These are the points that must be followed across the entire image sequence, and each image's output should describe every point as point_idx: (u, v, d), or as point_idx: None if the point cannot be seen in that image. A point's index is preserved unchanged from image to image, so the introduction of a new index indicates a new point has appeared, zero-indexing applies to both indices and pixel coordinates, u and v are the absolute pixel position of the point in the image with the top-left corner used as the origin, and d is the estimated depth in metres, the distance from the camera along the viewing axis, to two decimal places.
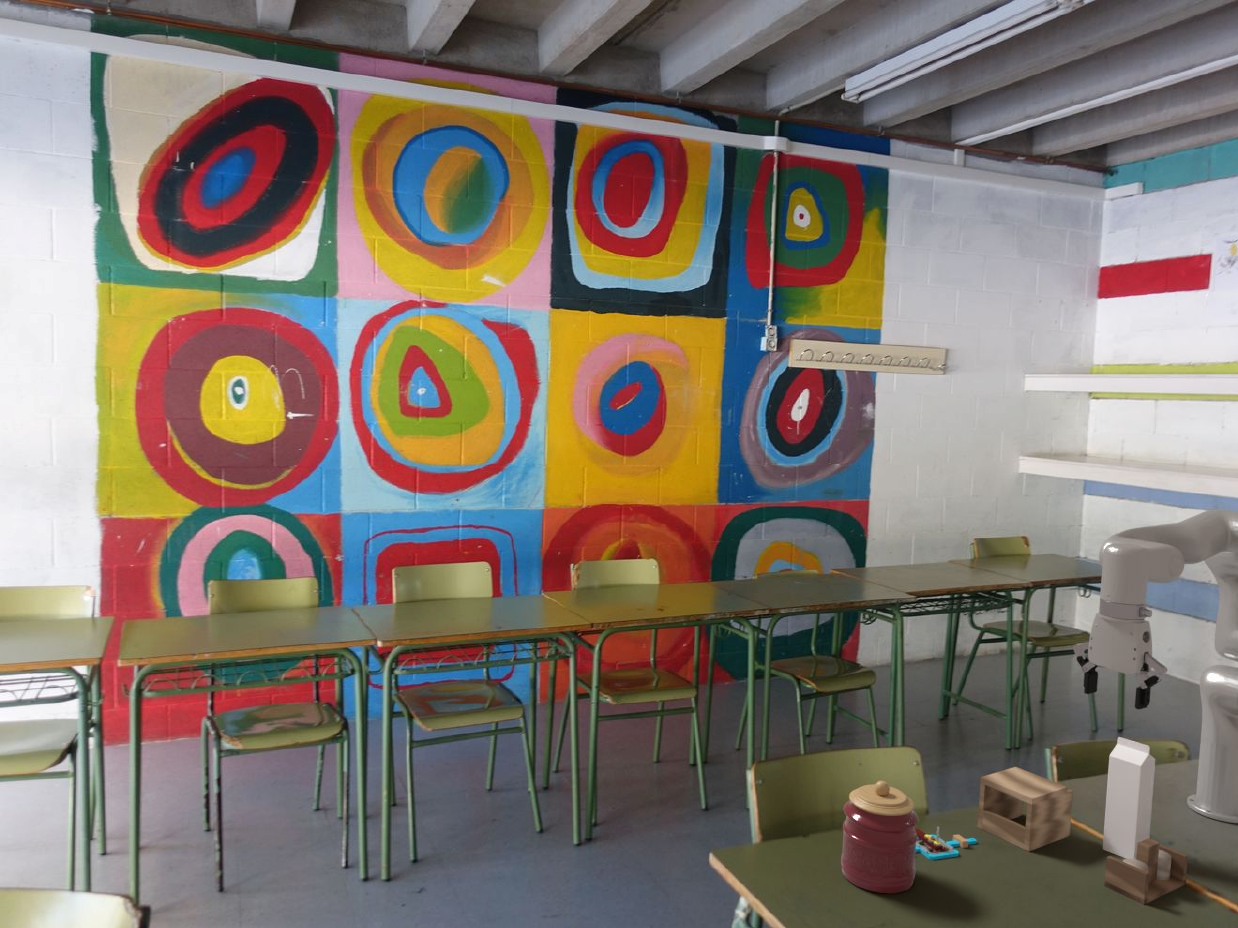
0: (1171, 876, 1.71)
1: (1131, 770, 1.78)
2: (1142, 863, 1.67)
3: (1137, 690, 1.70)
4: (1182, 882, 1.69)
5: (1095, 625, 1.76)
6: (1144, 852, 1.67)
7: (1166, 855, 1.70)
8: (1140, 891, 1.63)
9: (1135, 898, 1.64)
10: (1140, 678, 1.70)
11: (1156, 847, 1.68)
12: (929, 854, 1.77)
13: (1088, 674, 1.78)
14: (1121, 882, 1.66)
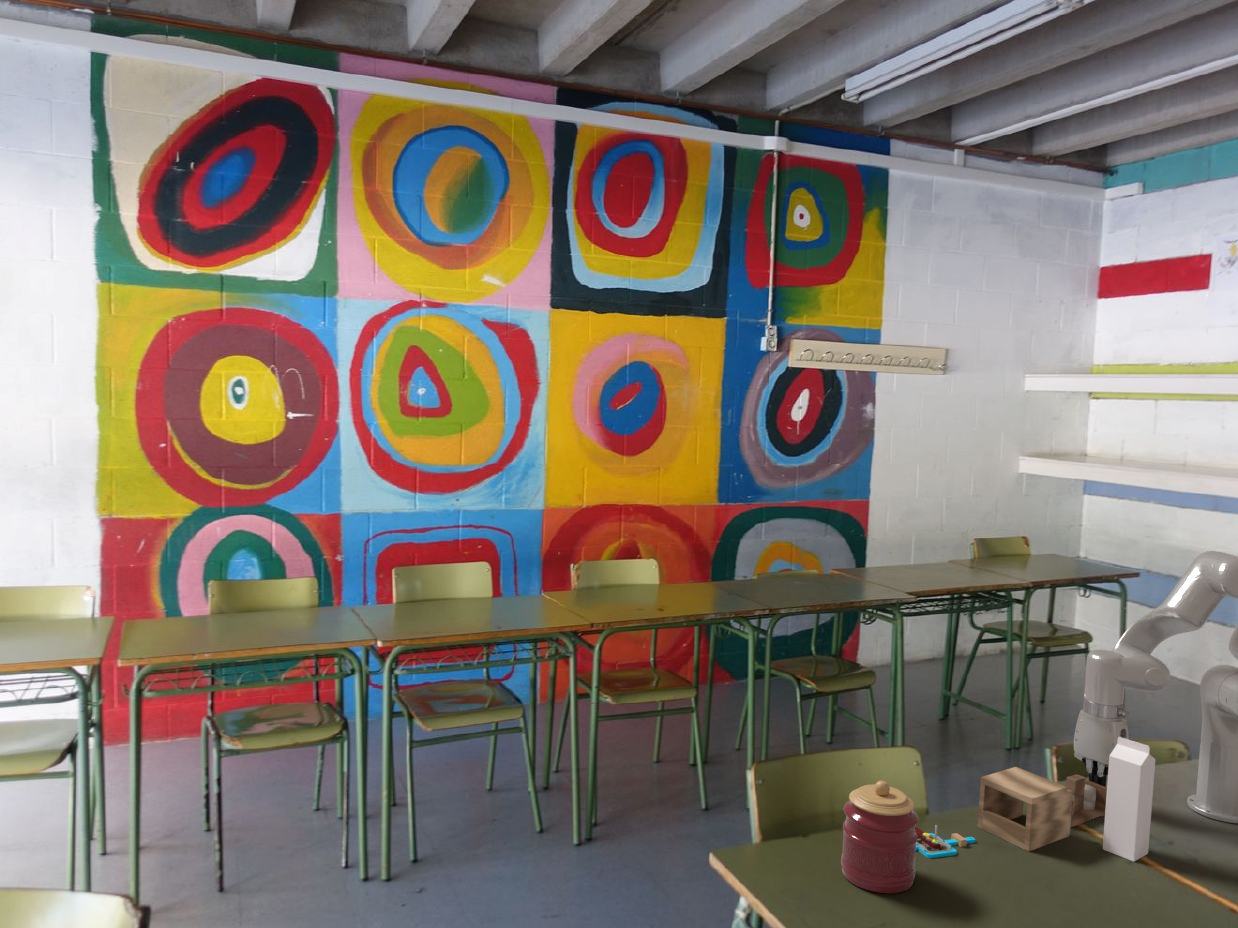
0: (1096, 807, 2.00)
1: (1131, 770, 1.78)
2: None
3: (1095, 778, 2.01)
4: None
5: (1080, 720, 2.03)
6: (1072, 785, 1.96)
7: (1092, 788, 1.99)
8: None
9: None
10: (1102, 769, 2.00)
11: (1082, 781, 1.97)
12: (927, 852, 1.77)
13: (1092, 775, 2.02)
14: None
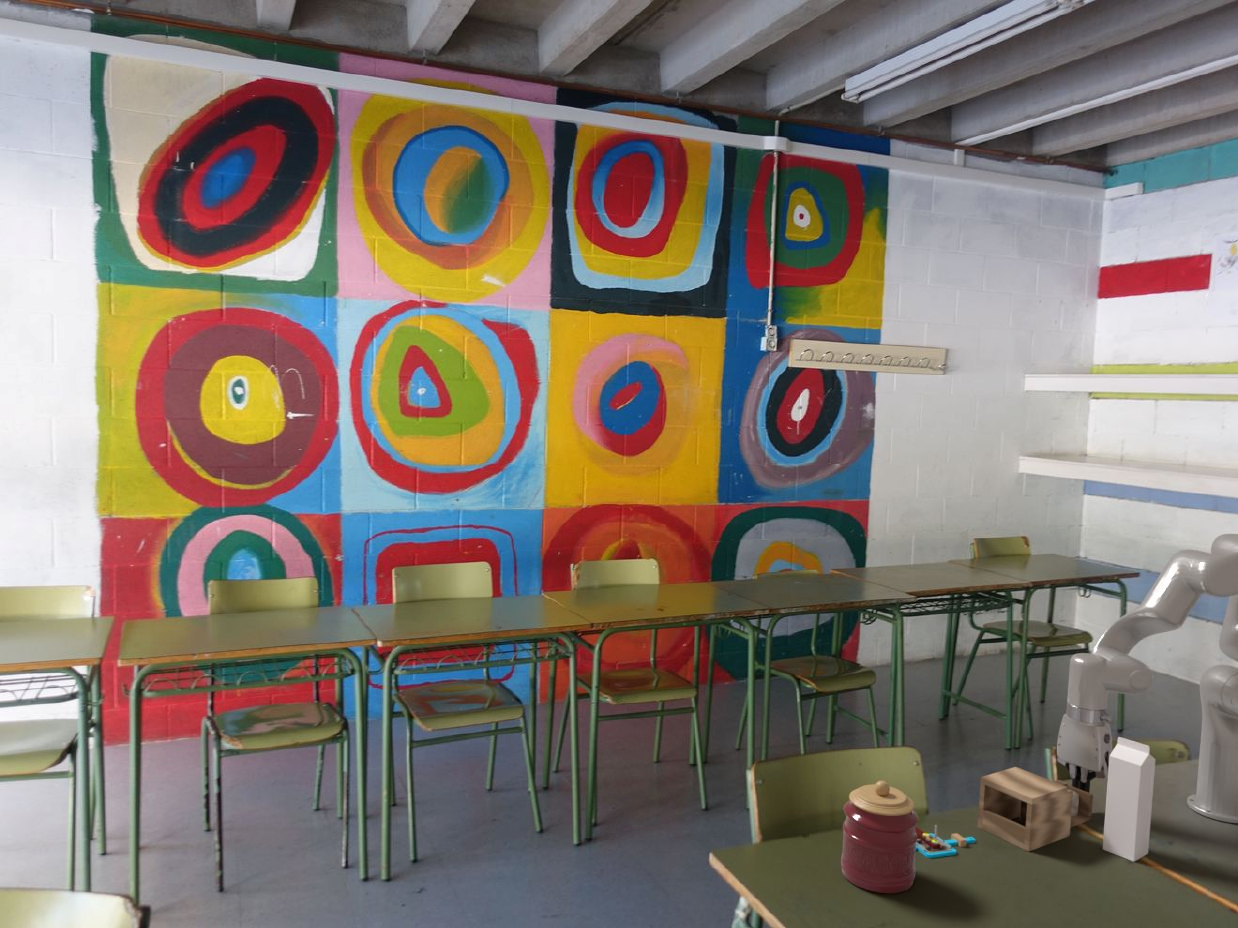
0: (1079, 813, 1.96)
1: (1131, 770, 1.78)
2: None
3: (1078, 783, 1.98)
4: (1088, 817, 1.95)
5: (1063, 725, 2.00)
6: None
7: (1075, 794, 1.96)
8: None
9: None
10: (1085, 774, 1.97)
11: None
12: (927, 852, 1.77)
13: (1076, 780, 1.98)
14: None
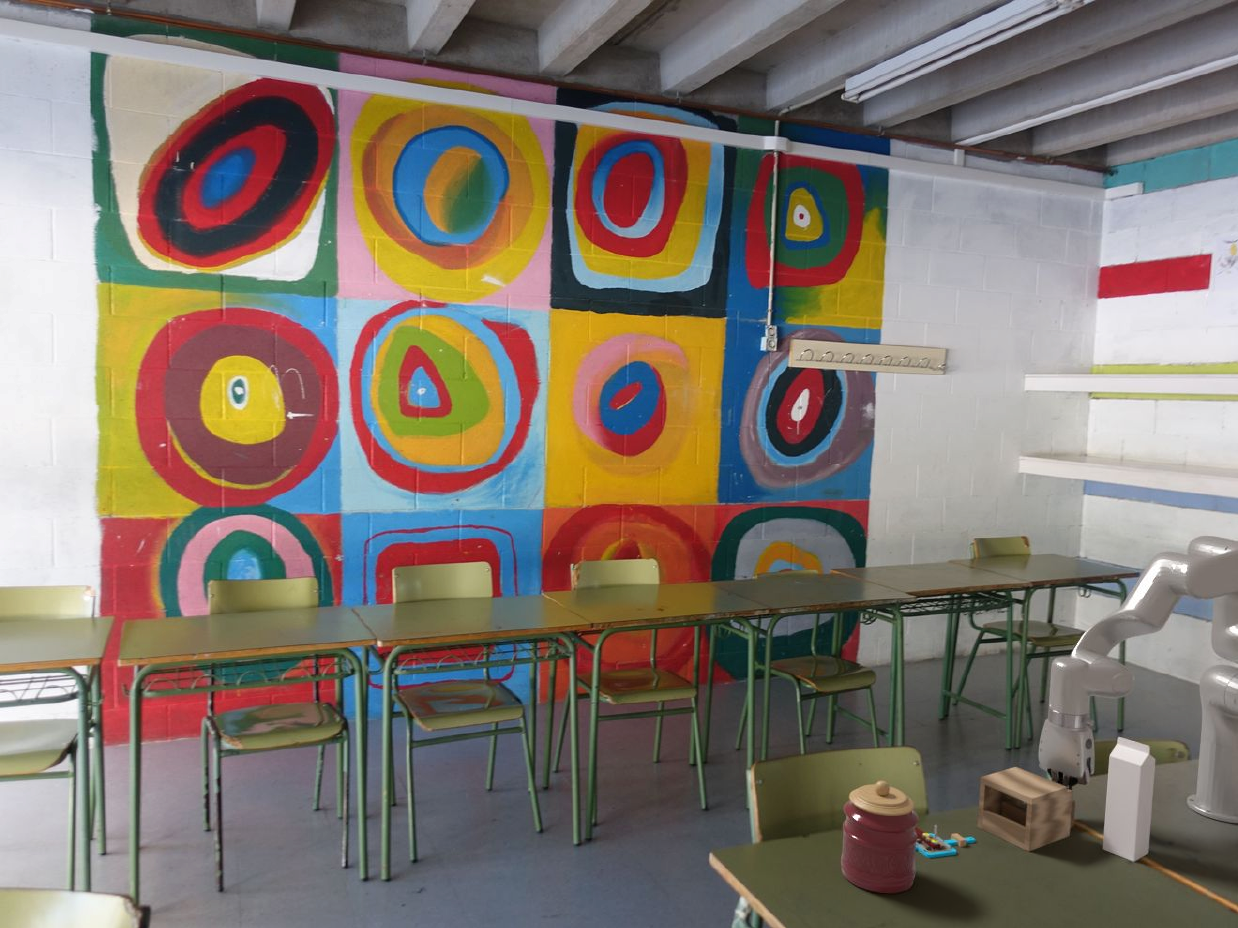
0: None
1: (1131, 770, 1.78)
2: None
3: None
4: None
5: (1044, 730, 1.96)
6: None
7: None
8: None
9: None
10: (1067, 781, 1.93)
11: None
12: (926, 852, 1.77)
13: None
14: None
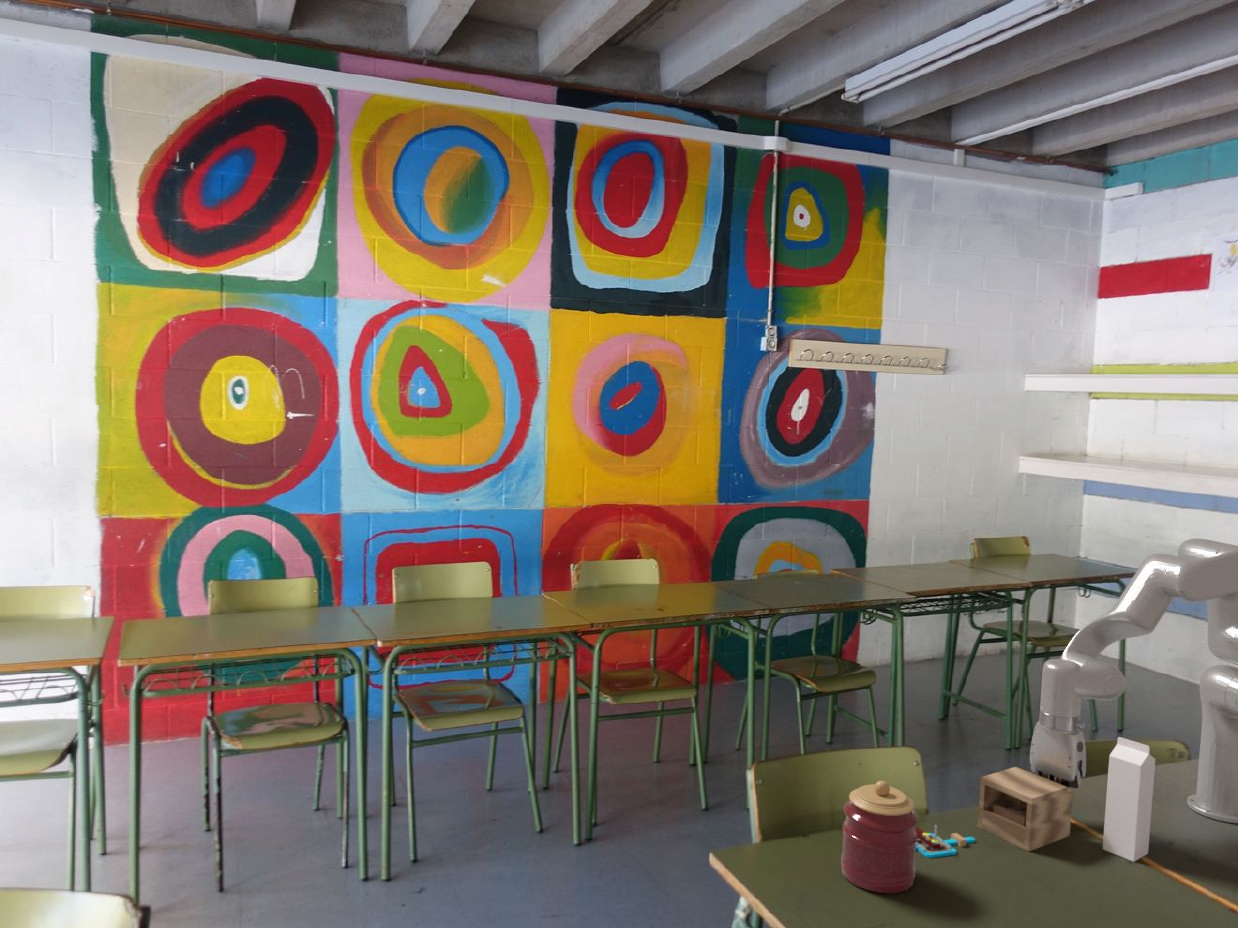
0: None
1: (1131, 770, 1.78)
2: (1024, 810, 1.87)
3: None
4: None
5: (1036, 733, 1.95)
6: None
7: None
8: None
9: None
10: None
11: None
12: (926, 852, 1.77)
13: None
14: None
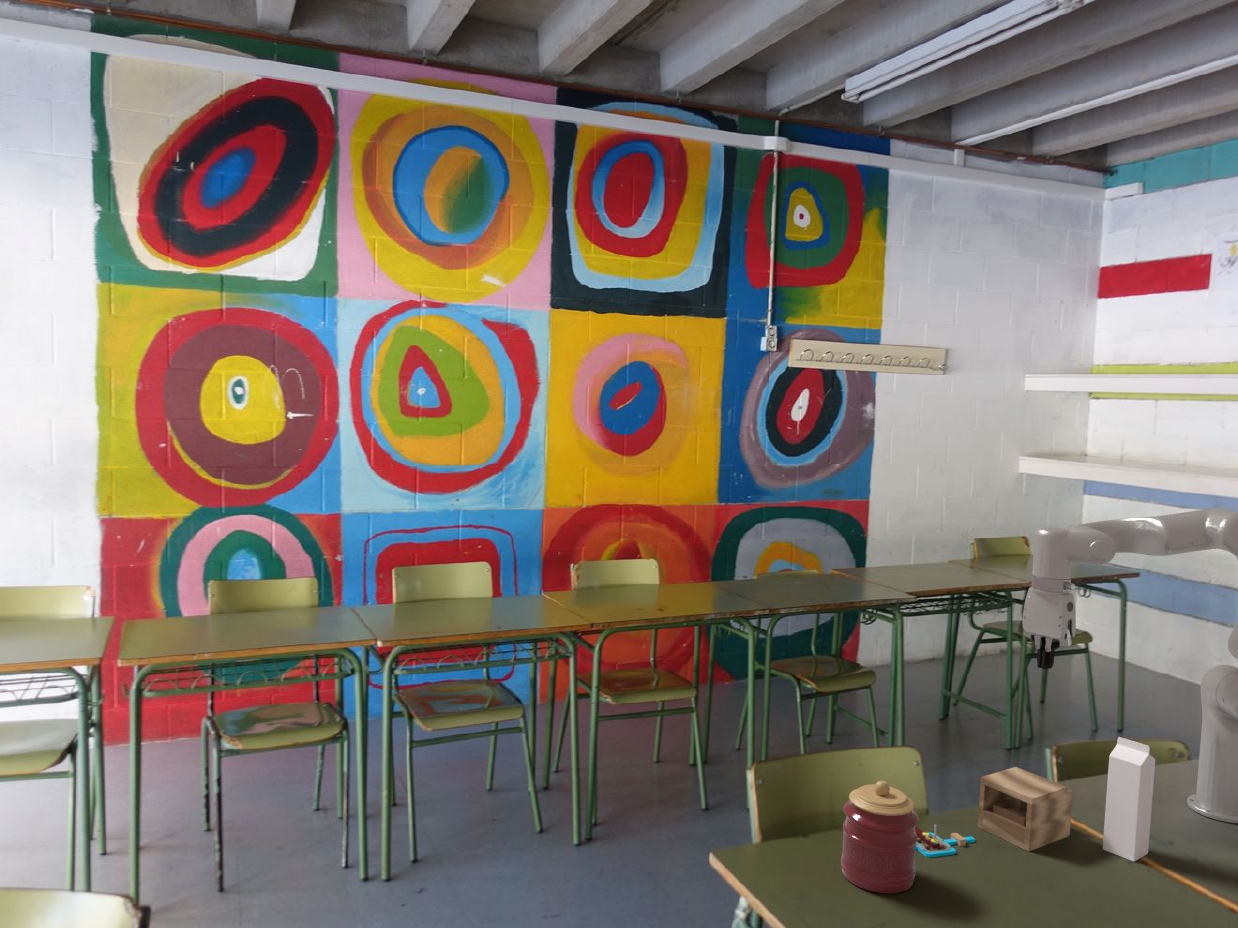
0: None
1: (1131, 770, 1.78)
2: (1024, 811, 1.87)
3: (1043, 653, 2.03)
4: None
5: (1028, 597, 2.05)
6: None
7: None
8: None
9: None
10: (1050, 644, 2.01)
11: None
12: (926, 852, 1.78)
13: (1040, 650, 2.03)
14: None
